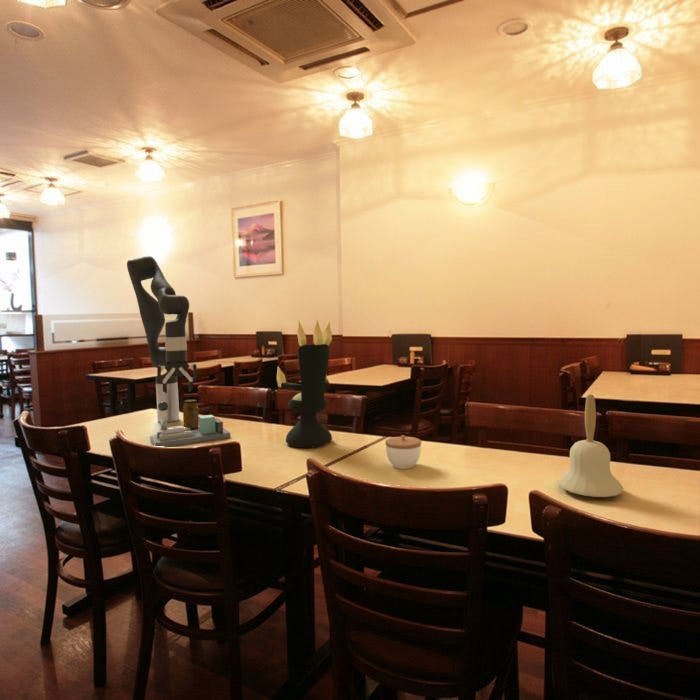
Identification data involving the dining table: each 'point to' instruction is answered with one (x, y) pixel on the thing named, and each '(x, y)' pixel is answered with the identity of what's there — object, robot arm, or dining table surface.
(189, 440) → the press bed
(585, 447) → the handbell
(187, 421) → the condiment
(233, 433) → the dining table surface
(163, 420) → the ram
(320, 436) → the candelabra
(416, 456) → the lidded jar
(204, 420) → the housing
